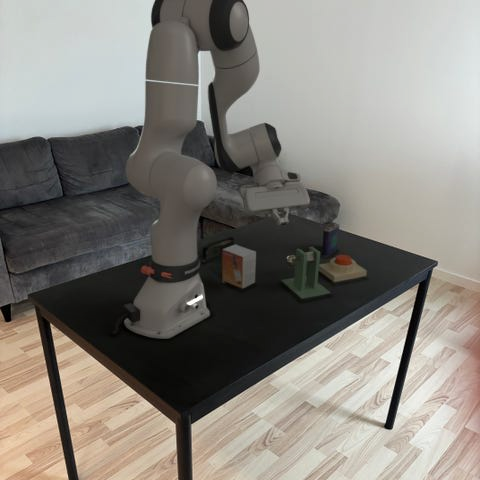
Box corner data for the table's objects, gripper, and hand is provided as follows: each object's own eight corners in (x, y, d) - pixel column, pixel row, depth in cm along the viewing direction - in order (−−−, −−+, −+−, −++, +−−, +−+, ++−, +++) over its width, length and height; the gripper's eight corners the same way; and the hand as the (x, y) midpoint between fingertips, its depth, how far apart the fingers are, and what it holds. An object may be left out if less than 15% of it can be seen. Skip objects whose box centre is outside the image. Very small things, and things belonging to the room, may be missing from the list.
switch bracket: (281, 283, 138) (283, 245, 132) (308, 278, 141) (311, 240, 135) (301, 302, 128) (304, 261, 122) (330, 296, 131) (334, 256, 125)
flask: (331, 247, 162) (334, 217, 156) (339, 249, 160) (342, 218, 155) (319, 256, 155) (322, 225, 149) (328, 258, 154) (331, 227, 148)
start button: (340, 267, 138) (341, 261, 137) (332, 261, 141) (333, 256, 141) (353, 264, 139) (354, 259, 139) (345, 259, 143) (345, 253, 142)
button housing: (333, 285, 137) (335, 270, 135) (317, 272, 144) (318, 259, 142) (365, 278, 141) (367, 264, 138) (348, 267, 148) (350, 253, 146)
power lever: (285, 267, 140) (283, 256, 140) (294, 265, 141) (293, 255, 141) (305, 263, 128) (304, 251, 127) (316, 261, 129) (314, 249, 128)
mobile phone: (229, 234, 159) (198, 246, 148) (236, 236, 157) (205, 248, 147) (228, 248, 161) (198, 261, 151) (235, 250, 159) (205, 263, 149)
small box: (221, 283, 138) (221, 248, 132) (235, 277, 141) (235, 243, 136) (242, 291, 133) (242, 256, 128) (255, 285, 137) (256, 250, 131)
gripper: (241, 179, 135) (254, 223, 133) (304, 173, 142) (318, 215, 139) (235, 191, 141) (247, 233, 138) (296, 185, 148) (309, 225, 145)
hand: (283, 224), depth 139 cm, fingers closed
